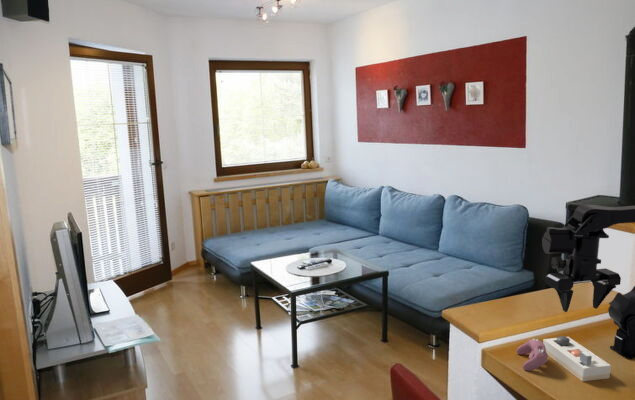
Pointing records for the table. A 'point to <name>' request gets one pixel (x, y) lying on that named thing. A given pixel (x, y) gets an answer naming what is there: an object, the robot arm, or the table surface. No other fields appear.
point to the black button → (563, 341)
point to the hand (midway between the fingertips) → (580, 309)
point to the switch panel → (577, 360)
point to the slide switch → (585, 358)
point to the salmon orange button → (576, 353)
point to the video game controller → (533, 354)
